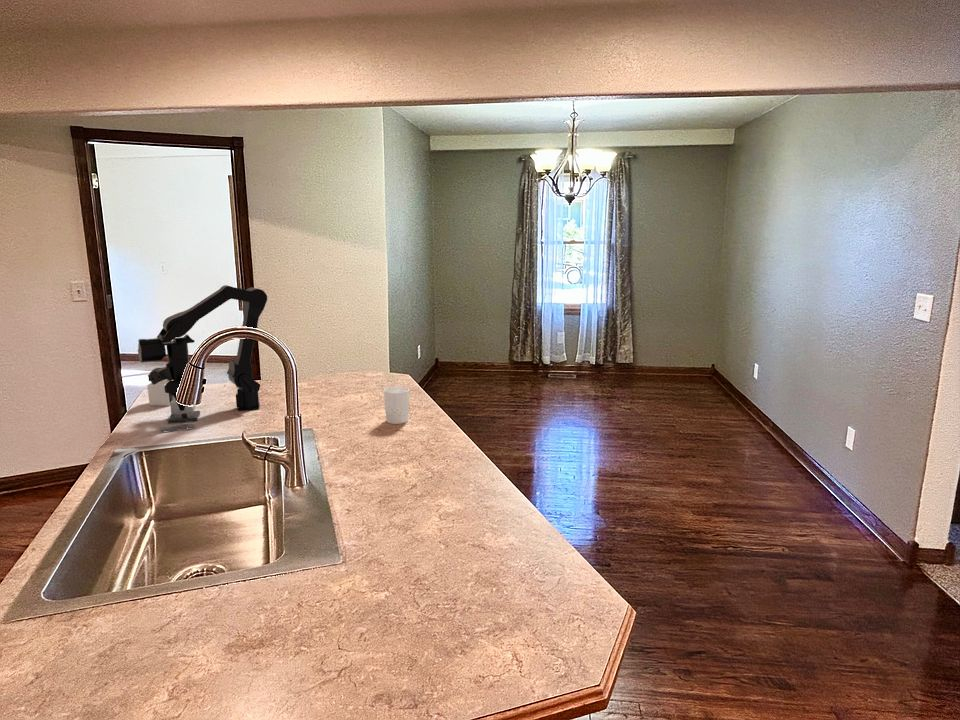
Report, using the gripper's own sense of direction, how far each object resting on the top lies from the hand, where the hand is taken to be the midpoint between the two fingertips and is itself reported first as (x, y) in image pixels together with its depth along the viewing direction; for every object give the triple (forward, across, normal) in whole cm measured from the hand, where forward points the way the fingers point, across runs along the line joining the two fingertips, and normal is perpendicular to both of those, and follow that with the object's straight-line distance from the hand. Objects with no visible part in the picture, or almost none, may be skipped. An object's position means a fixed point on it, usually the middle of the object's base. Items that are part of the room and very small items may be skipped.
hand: (183, 407), depth 186 cm
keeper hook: (+4, 0, 0) cm, 4 cm away
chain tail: (+4, +11, 0) cm, 11 cm away
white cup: (+4, +22, +62) cm, 66 cm away
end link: (+1, 0, 0) cm, 1 cm away
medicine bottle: (+4, -20, -9) cm, 23 cm away
